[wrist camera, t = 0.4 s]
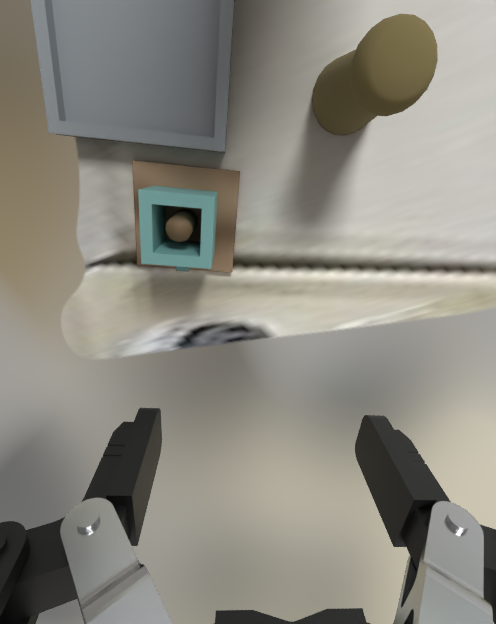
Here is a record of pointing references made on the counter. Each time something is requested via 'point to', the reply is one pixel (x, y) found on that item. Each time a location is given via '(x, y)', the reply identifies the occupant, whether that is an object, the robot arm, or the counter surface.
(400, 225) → the counter surface
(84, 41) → the tray
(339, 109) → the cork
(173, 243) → the open box
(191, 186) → the square board with knob
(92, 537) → the robot arm
